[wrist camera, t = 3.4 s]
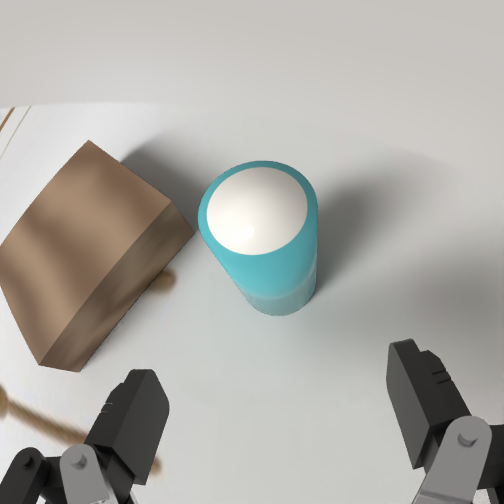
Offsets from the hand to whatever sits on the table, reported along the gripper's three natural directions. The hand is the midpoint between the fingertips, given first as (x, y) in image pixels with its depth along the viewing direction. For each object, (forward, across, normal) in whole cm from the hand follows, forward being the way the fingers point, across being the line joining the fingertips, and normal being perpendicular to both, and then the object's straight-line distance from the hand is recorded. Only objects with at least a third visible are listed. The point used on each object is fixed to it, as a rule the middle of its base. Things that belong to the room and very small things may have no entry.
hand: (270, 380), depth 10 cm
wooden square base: (+16, +17, 0) cm, 24 cm away
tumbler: (+13, 0, +3) cm, 14 cm away
